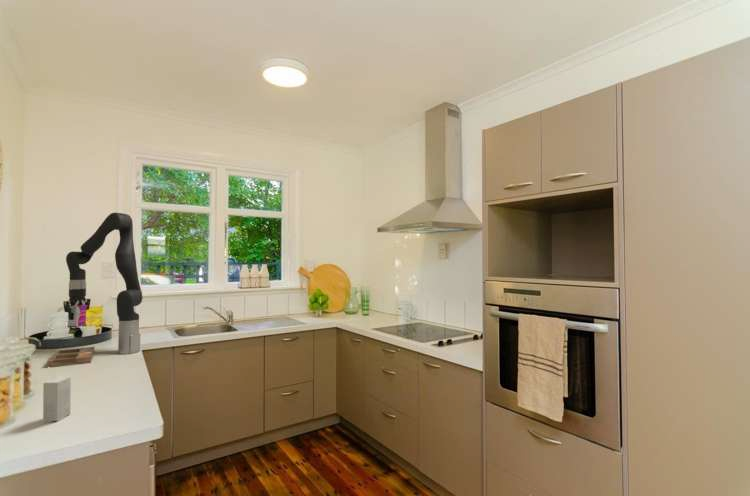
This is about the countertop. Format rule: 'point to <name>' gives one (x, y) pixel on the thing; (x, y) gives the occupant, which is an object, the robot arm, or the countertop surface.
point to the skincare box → (56, 399)
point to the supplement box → (78, 316)
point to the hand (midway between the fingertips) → (77, 318)
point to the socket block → (71, 357)
